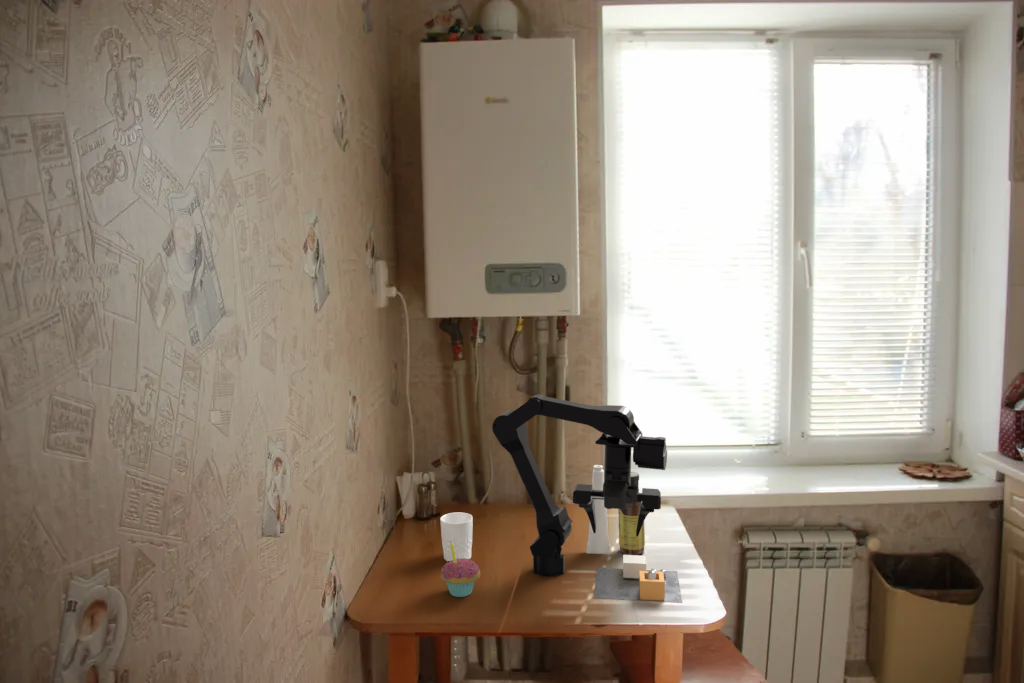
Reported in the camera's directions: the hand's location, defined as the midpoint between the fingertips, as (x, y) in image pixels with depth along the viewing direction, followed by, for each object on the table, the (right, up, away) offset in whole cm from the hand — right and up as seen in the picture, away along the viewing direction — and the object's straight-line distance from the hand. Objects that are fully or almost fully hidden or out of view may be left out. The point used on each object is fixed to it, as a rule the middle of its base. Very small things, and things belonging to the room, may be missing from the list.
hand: (615, 534), depth 156 cm
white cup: (-36, -11, +18) cm, 42 cm away
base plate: (+5, -12, -1) cm, 13 cm away
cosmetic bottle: (-2, -10, +18) cm, 21 cm away
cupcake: (-34, -13, -1) cm, 36 cm away
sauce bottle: (+7, -10, +19) cm, 22 cm away
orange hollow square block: (+7, -11, -6) cm, 14 cm away
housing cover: (+5, -10, +3) cm, 11 cm away
